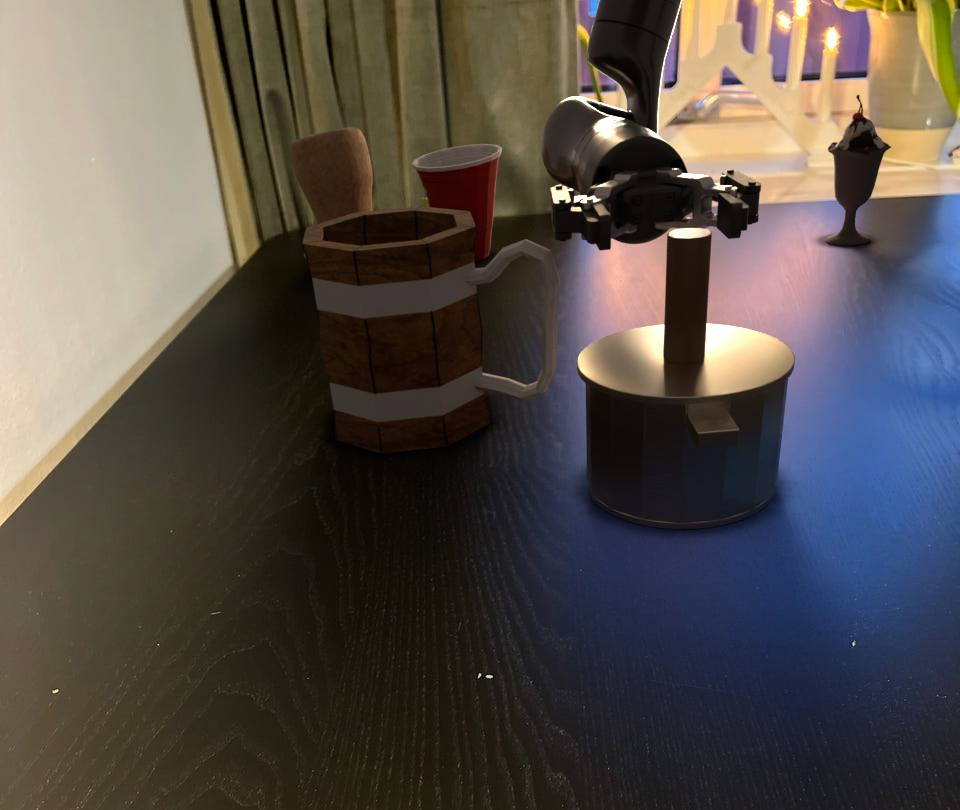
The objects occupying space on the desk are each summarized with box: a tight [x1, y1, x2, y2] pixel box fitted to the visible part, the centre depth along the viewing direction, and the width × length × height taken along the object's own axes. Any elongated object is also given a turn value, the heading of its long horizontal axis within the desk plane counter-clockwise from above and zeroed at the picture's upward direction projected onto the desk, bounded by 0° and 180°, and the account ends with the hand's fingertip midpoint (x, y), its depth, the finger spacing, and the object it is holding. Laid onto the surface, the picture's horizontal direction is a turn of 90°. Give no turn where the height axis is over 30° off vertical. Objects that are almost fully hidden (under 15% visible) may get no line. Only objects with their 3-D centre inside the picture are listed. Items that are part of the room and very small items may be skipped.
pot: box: [585, 378, 789, 530], centre depth 65 cm, size 13×18×8 cm
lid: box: [576, 228, 796, 405], centre depth 61 cm, size 14×14×9 cm
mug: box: [301, 205, 561, 454], centre depth 76 cm, size 20×14×15 cm
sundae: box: [824, 94, 892, 247], centre depth 111 cm, size 7×7×15 cm
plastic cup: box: [411, 143, 503, 262], centre depth 119 cm, size 11×11×12 cm
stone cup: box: [289, 127, 374, 260], centre depth 123 cm, size 15×12×15 cm
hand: (671, 228), depth 64 cm, fingers open, 8 cm apart
